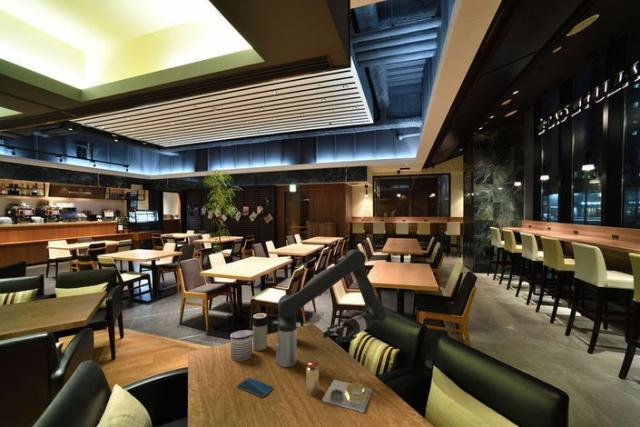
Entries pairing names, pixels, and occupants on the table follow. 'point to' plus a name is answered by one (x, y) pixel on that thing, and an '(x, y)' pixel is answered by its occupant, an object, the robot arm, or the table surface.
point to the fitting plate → (347, 400)
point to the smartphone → (255, 387)
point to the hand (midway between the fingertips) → (329, 338)
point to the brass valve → (312, 378)
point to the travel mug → (259, 331)
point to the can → (241, 345)
